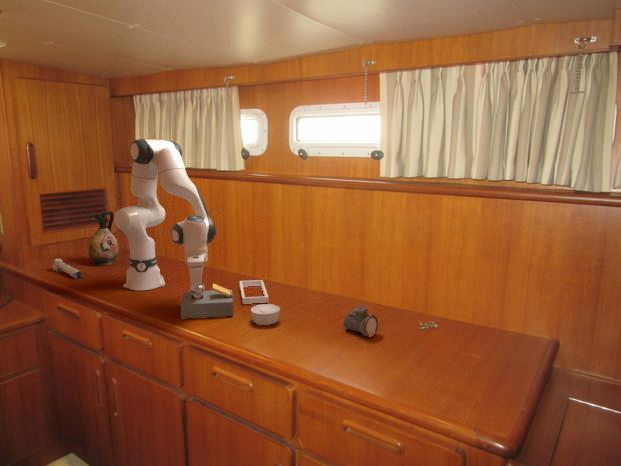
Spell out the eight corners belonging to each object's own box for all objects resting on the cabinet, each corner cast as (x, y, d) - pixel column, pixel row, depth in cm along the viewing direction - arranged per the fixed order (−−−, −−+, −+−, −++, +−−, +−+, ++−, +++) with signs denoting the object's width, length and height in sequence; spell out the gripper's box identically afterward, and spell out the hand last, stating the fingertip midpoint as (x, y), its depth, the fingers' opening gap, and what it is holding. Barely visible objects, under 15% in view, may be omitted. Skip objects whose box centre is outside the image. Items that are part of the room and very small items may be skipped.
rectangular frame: (239, 286, 213) (239, 281, 212) (262, 285, 215) (262, 280, 214) (242, 304, 189) (242, 298, 188) (268, 303, 191) (268, 297, 190)
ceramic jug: (100, 268, 238) (96, 213, 232) (84, 264, 246) (79, 211, 240) (128, 262, 252) (125, 210, 246) (112, 258, 260) (108, 208, 254)
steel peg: (191, 303, 182) (190, 283, 180) (205, 302, 183) (204, 283, 182) (190, 308, 177) (189, 287, 175) (204, 307, 178) (204, 287, 176)
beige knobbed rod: (72, 272, 217) (50, 257, 232) (72, 285, 219) (50, 269, 234) (83, 270, 221) (60, 255, 236) (83, 282, 223) (61, 267, 238)
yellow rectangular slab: (212, 285, 183) (213, 282, 183) (231, 293, 185) (232, 290, 185) (212, 290, 177) (213, 287, 177) (231, 298, 179) (233, 295, 179)
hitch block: (183, 305, 187) (183, 291, 186) (231, 302, 191) (231, 289, 190) (181, 319, 172) (180, 304, 170) (233, 316, 176) (233, 302, 175)
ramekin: (245, 324, 168) (245, 311, 167) (259, 314, 179) (259, 302, 178) (271, 329, 164) (271, 315, 163) (284, 318, 175) (284, 306, 174)
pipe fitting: (380, 333, 162) (378, 306, 160) (367, 341, 156) (364, 314, 154) (355, 327, 170) (352, 302, 168) (341, 334, 165) (338, 308, 163)
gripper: (189, 250, 185) (190, 282, 188) (186, 263, 166) (187, 298, 168) (205, 250, 187) (205, 281, 189) (204, 262, 167) (204, 297, 170)
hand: (197, 289), depth 179 cm, fingers closed on steel peg, 6 cm apart
